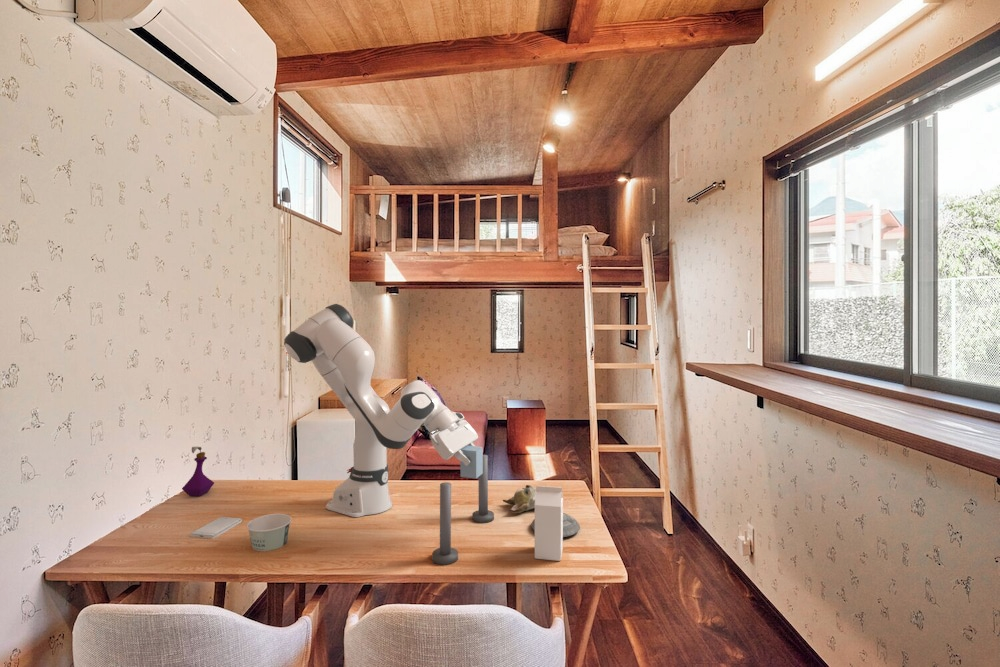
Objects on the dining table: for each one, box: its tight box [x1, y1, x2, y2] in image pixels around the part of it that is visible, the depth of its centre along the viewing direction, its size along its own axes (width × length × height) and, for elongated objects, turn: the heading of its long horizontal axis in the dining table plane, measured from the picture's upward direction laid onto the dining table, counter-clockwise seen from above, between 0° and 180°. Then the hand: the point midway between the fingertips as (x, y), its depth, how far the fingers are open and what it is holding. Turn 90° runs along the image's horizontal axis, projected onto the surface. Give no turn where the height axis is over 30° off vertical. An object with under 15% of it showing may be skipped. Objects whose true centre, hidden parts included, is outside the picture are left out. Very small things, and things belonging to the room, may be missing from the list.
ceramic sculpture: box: [502, 484, 536, 514], centre depth 171 cm, size 11×9×15 cm
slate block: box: [459, 445, 484, 480], centre depth 149 cm, size 5×5×8 cm
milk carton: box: [534, 485, 564, 562], centre depth 139 cm, size 7×7×19 cm
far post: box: [471, 454, 495, 524], centre depth 163 cm, size 7×7×20 cm
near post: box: [431, 482, 459, 566], centre depth 137 cm, size 7×7×20 cm
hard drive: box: [189, 516, 243, 540], centre depth 156 cm, size 2×8×12 cm
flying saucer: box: [530, 512, 581, 538], centre depth 155 cm, size 15×15×6 cm
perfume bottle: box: [181, 446, 215, 497], centre depth 185 cm, size 8×8×18 cm
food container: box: [245, 513, 293, 552], centre depth 146 cm, size 12×12×6 cm
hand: (473, 460), depth 148 cm, fingers closed on slate block, 5 cm apart
